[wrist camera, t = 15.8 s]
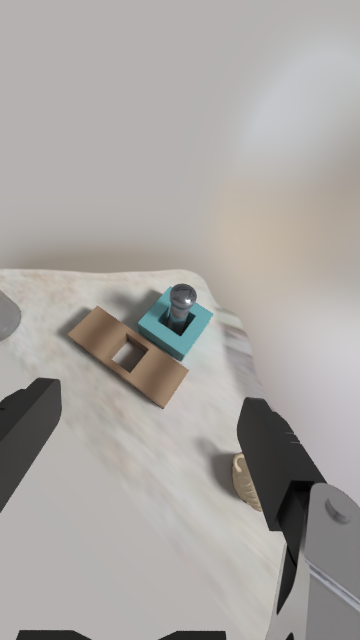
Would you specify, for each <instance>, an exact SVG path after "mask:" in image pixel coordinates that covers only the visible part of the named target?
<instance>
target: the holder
mask: <svg viewBox="0 0 360 640" xmlns="http://www.w3.org/2000/svg"><path fill="white" fill-rule="evenodd" d="M171 289H172V287H171V286H170V287H169V288H168V289H167V290H166V292H165V293H164V294H163V295H162V296H161V297H160V298H159V299H158V301H157V302H156V303H155V304H154V305H153V306H152V307H151V308H150V310H149V311H148V312H147V313H146V314H145V315H144V316H143V317H142V319H141V320H140V321H139V322H138V330H139V332H140V333H141V334H143V335H144V336H146V337H147V338H148V339H150V340H151V341H153V342H154V343H156V344H157V345H158V346H160V347H161V348H163V349H164V350H166V351H167V352H168V353H170V354H171V355H173V356H174V357H175V358H177V359H178V360H180V361H181V362H182V360H183V359H184V357H185V356H186V354H187V353H188V352H189V350H190V349H191V347H192V346H193V344H194V343H195V341H196V340H197V339H198V337H199V336H200V334H201V333H202V331H203V330H204V328H205V327H206V326H207V324H208V323H209V321H210V319H211V317H212V316H213V313H211V312H210V311H208V310H207V309H205V308H203V307H202V306H200V305H199V304H197V303H196V302H195V303H194V305H193V306H192V307H191V308H190V310H189V313H188V316H187V319H186V321H187V322H189V323H190V325H189V326H188V328H187V329H186V330H185V332H184V333H183V334H182V336H181V337H180V336H179V335H177V334H176V333H174V332H173V331H171V330H170V329H168V328H167V327H165V326H164V325H162V324H161V323H162V322H163V321H164V320H165V318H166V317H167V316H168V315H169V312H170V306H171V302H170V291H171Z"/></svg>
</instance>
